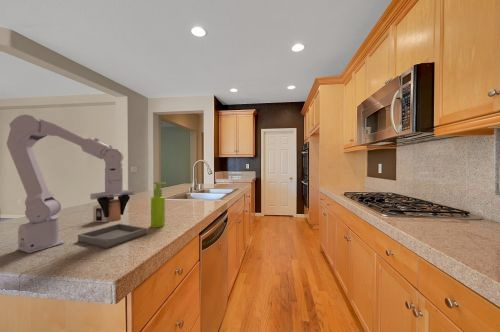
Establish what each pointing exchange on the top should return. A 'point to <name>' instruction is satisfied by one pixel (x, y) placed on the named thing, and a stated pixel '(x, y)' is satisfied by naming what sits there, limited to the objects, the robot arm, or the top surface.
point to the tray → (112, 235)
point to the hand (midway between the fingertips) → (113, 215)
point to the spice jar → (114, 211)
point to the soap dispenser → (158, 207)
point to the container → (99, 212)
